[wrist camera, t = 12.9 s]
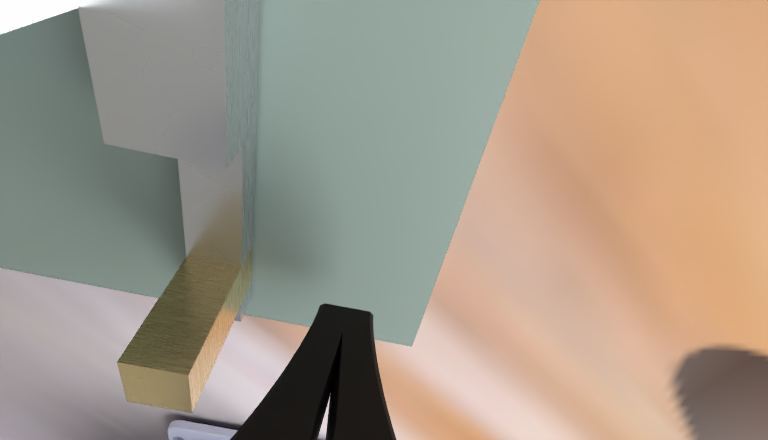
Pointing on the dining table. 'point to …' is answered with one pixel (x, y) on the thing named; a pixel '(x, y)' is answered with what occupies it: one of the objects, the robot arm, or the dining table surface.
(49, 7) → the steel block
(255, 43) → the block
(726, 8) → the dining table surface
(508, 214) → the dining table surface
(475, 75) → the vise base
